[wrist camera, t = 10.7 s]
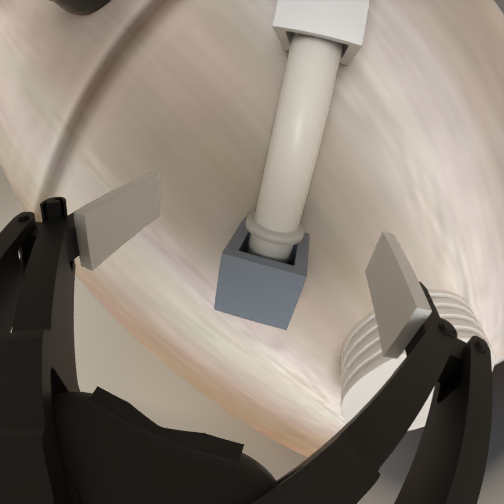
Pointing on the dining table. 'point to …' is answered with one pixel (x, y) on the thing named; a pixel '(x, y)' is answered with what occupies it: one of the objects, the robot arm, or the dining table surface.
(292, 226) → the tube
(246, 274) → the socket
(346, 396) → the plate stack
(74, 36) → the dining table surface
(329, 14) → the sleeve
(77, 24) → the dining table surface
